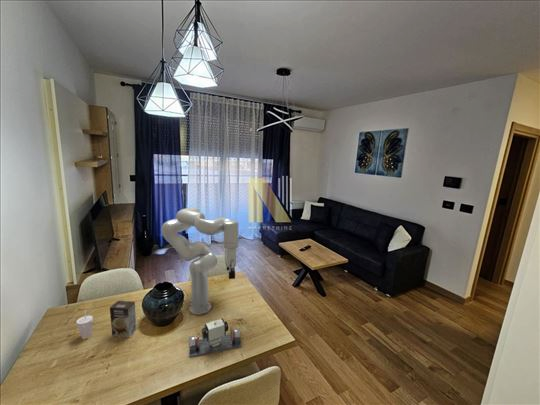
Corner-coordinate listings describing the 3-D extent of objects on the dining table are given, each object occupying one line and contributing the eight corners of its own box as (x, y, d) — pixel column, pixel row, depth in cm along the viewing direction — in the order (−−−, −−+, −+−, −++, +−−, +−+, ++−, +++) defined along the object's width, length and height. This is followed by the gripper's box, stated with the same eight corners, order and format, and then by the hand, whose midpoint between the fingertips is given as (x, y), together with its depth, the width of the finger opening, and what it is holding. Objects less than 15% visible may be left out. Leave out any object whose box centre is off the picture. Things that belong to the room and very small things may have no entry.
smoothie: (97, 334, 119) (94, 309, 117) (83, 343, 114) (80, 317, 111) (89, 330, 122) (87, 305, 119) (75, 338, 116) (72, 313, 114)
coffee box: (111, 337, 118) (108, 307, 115) (119, 328, 125) (117, 300, 122) (129, 338, 118) (127, 308, 115) (137, 329, 124) (135, 300, 121)
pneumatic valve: (228, 343, 116) (228, 321, 114) (204, 352, 110) (204, 328, 108) (224, 335, 121) (224, 314, 119) (201, 343, 115) (201, 321, 113)
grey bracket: (189, 357, 108) (188, 343, 107) (189, 342, 117) (189, 329, 115) (241, 347, 115) (241, 333, 114) (238, 334, 124) (238, 321, 122)
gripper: (222, 238, 132) (221, 267, 135) (225, 250, 116) (225, 283, 119) (235, 238, 134) (235, 266, 137) (241, 249, 118) (240, 281, 121)
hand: (230, 274), depth 128 cm, fingers open, 9 cm apart
